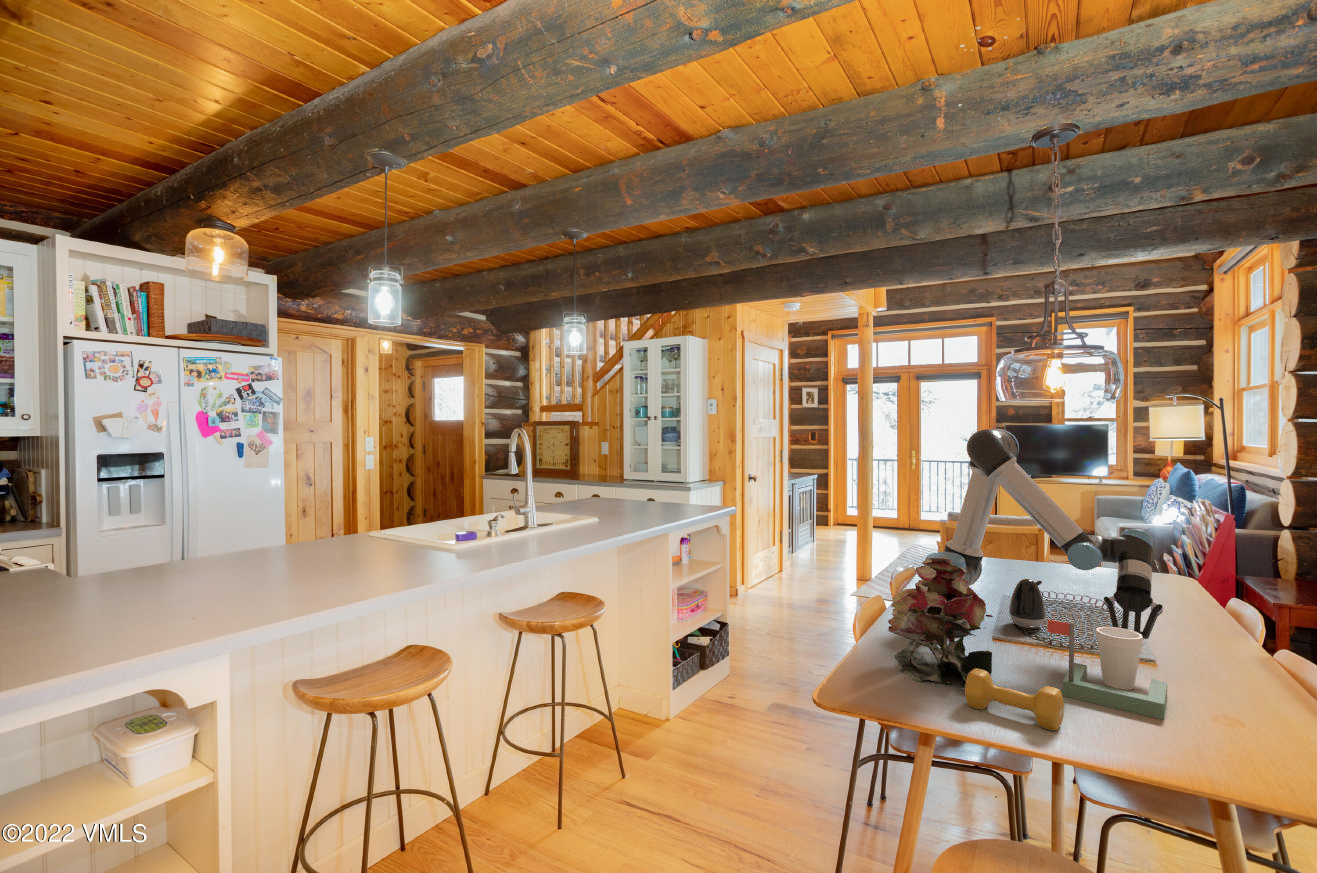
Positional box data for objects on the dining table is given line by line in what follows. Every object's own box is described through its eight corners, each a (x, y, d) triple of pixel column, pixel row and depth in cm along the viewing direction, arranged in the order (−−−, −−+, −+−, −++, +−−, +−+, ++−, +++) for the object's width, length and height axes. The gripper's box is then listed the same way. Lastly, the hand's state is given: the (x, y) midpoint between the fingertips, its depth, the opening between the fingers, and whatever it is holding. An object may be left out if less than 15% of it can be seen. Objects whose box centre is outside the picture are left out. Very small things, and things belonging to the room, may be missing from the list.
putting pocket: (1056, 672, 166) (1057, 606, 165) (1167, 696, 151) (1168, 623, 150) (1045, 691, 154) (1046, 620, 153) (1164, 719, 139) (1165, 641, 139)
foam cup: (1134, 679, 161) (1134, 629, 160) (1148, 694, 152) (1149, 641, 152) (1090, 674, 164) (1091, 625, 164) (1101, 689, 155) (1102, 636, 155)
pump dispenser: (1054, 629, 200) (1054, 581, 199) (1026, 632, 197) (1026, 583, 197) (1028, 619, 209) (1028, 574, 209) (1001, 622, 207) (1002, 576, 207)
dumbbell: (961, 709, 145) (961, 673, 145) (974, 697, 151) (974, 663, 151) (1056, 738, 131) (1057, 699, 131) (1067, 723, 138) (1067, 686, 138)
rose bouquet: (988, 657, 176) (989, 550, 176) (997, 699, 150) (998, 573, 149) (891, 644, 187) (891, 543, 186) (882, 681, 160) (883, 563, 159)
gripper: (1164, 592, 171) (1161, 672, 159) (1106, 584, 180) (1099, 660, 167) (1164, 576, 167) (1161, 658, 155) (1104, 569, 175) (1096, 646, 163)
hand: (1129, 659), depth 161 cm, fingers closed
